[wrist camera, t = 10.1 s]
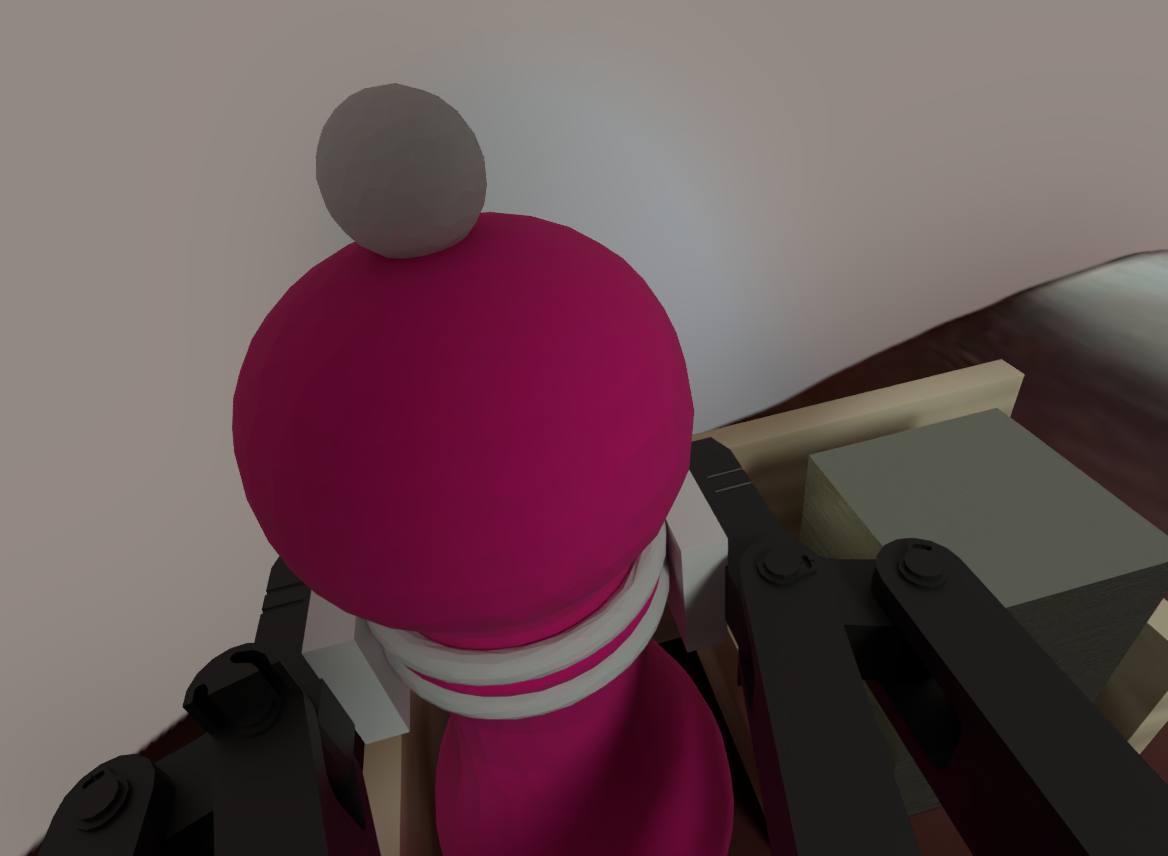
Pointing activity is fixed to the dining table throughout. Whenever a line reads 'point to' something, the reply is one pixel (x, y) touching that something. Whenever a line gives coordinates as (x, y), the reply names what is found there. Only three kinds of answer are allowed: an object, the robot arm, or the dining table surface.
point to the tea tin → (996, 541)
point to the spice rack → (778, 471)
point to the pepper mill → (490, 490)
